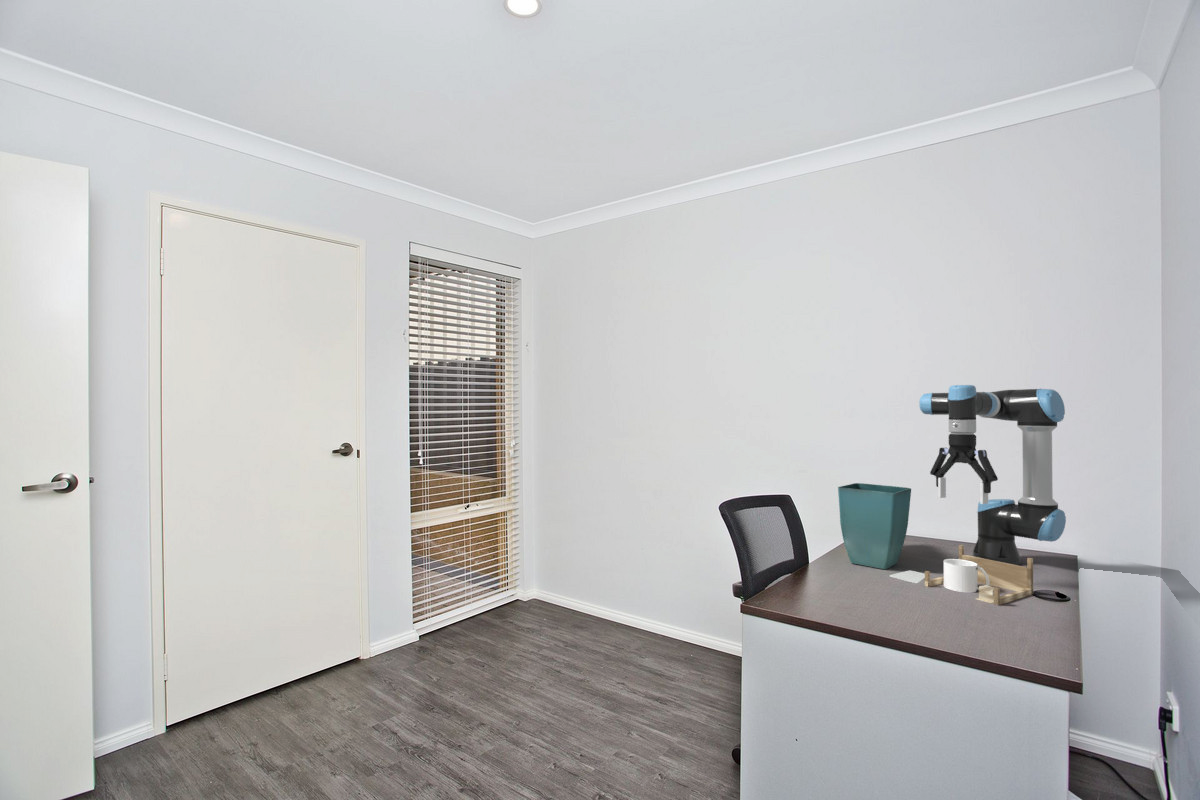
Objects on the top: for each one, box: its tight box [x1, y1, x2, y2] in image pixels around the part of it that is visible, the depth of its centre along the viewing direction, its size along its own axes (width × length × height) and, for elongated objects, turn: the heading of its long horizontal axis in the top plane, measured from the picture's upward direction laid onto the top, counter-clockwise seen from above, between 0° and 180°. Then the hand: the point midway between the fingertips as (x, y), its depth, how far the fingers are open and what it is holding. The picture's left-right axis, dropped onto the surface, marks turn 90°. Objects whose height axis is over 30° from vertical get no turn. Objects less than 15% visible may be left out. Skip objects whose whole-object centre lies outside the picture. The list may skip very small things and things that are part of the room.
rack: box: [924, 544, 1034, 606], centre depth 182 cm, size 21×21×12 cm
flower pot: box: [837, 482, 912, 570], centre depth 218 cm, size 20×20×28 cm
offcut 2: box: [978, 591, 994, 602], centre depth 172 cm, size 4×4×2 cm
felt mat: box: [889, 569, 925, 584], centre depth 199 cm, size 12×12×1 cm
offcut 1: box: [978, 584, 995, 595], centre depth 172 cm, size 4×3×2 cm
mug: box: [943, 558, 990, 594], centre depth 183 cm, size 12×9×9 cm
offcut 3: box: [975, 597, 994, 604], centre depth 172 cm, size 5×4×2 cm
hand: (962, 500), depth 187 cm, fingers open, 13 cm apart
